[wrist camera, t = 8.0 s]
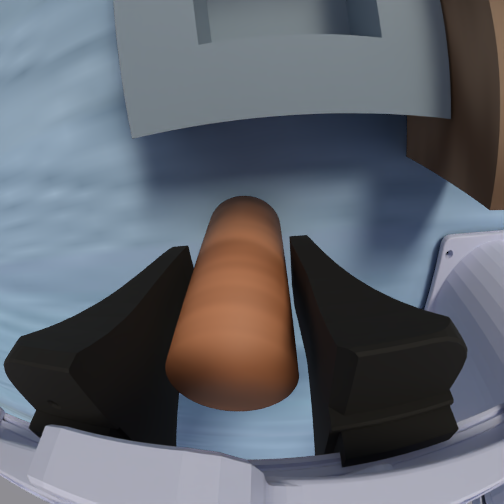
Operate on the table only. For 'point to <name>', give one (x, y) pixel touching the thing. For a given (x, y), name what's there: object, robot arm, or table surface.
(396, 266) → the table surface
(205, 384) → the dowel
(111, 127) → the table surface
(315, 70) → the socket block
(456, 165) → the walnut wall
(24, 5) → the table surface
